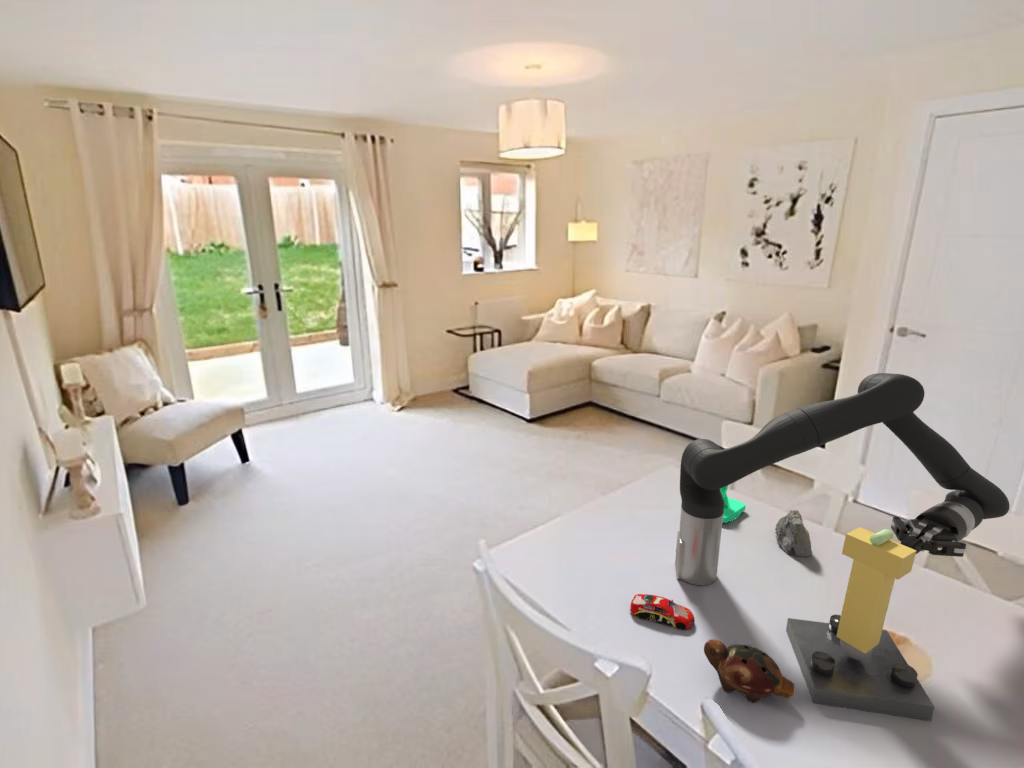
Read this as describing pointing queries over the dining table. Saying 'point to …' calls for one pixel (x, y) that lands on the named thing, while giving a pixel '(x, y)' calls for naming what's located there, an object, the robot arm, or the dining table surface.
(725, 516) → the camera mount
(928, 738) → the dining table surface
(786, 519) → the mineral rock
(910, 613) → the dining table surface
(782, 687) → the decorative turtle
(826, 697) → the dark grey base plate
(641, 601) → the race car
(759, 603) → the dining table surface
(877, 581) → the yellow t-shaped post
